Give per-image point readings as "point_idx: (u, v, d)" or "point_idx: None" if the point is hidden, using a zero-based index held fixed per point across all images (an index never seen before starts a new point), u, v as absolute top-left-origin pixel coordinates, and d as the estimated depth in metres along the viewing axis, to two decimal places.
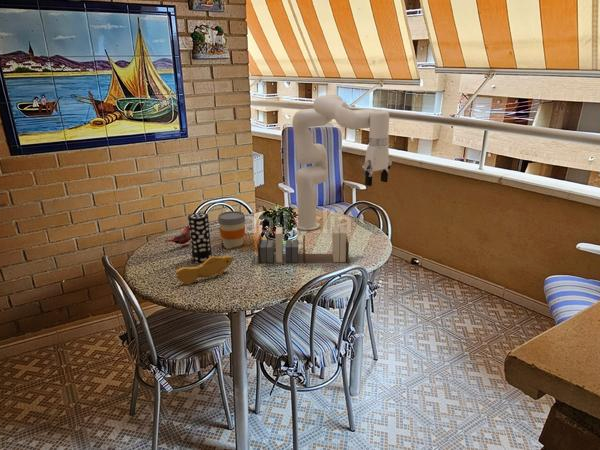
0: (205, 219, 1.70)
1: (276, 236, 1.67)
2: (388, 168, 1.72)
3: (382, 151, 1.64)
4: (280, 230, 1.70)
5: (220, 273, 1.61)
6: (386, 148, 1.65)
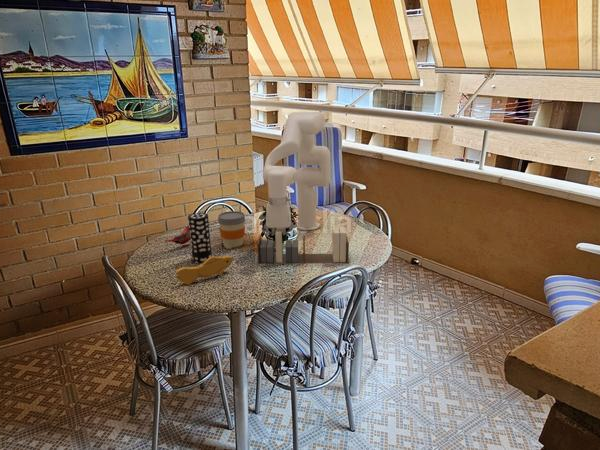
0: (205, 219, 1.70)
1: (276, 236, 1.67)
2: (285, 229, 1.69)
3: (277, 210, 1.65)
4: (280, 230, 1.70)
5: (220, 273, 1.61)
6: (283, 208, 1.64)
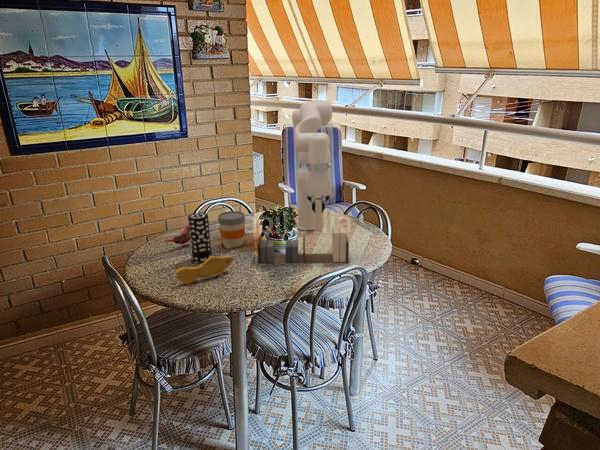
0: (205, 219, 1.70)
1: (316, 204, 1.61)
2: (325, 197, 1.64)
3: (318, 177, 1.59)
4: (319, 198, 1.64)
5: (220, 273, 1.61)
6: (324, 174, 1.59)
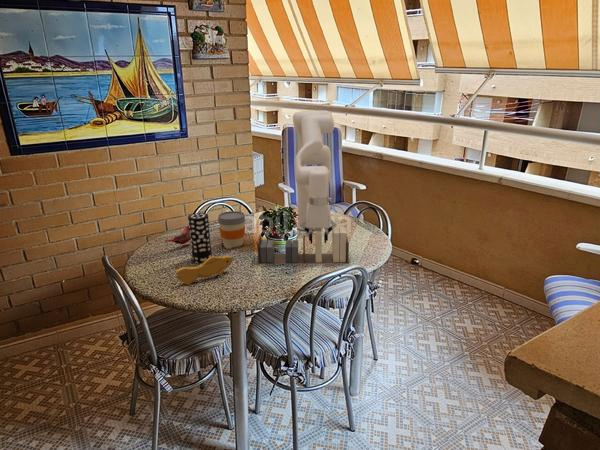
0: (205, 219, 1.70)
1: (316, 236, 1.66)
2: (328, 229, 1.68)
3: (318, 210, 1.64)
4: (320, 230, 1.69)
5: (220, 273, 1.61)
6: (324, 208, 1.64)
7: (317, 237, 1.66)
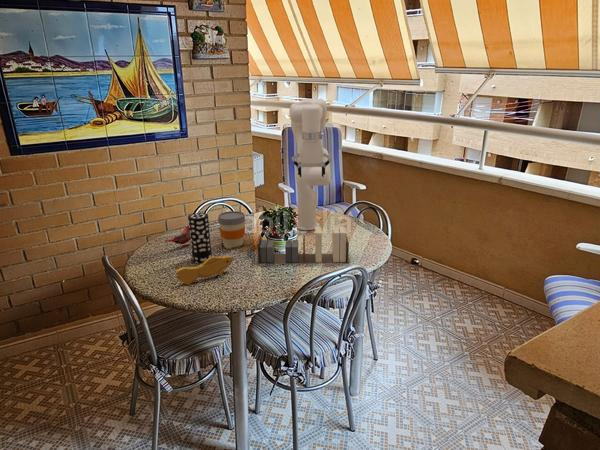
0: (205, 219, 1.70)
1: (316, 236, 1.66)
2: (326, 163, 1.74)
3: (311, 145, 1.70)
4: (320, 230, 1.69)
5: (220, 273, 1.61)
6: (317, 143, 1.70)
7: (317, 237, 1.66)
